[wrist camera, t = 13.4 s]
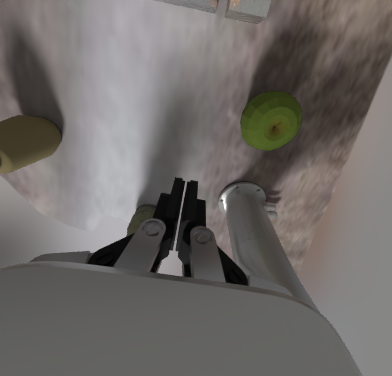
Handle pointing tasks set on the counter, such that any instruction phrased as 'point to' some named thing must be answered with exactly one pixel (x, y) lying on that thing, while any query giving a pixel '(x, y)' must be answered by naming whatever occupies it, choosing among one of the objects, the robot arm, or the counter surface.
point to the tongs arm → (195, 4)
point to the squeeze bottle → (26, 141)
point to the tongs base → (247, 10)
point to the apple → (271, 120)
